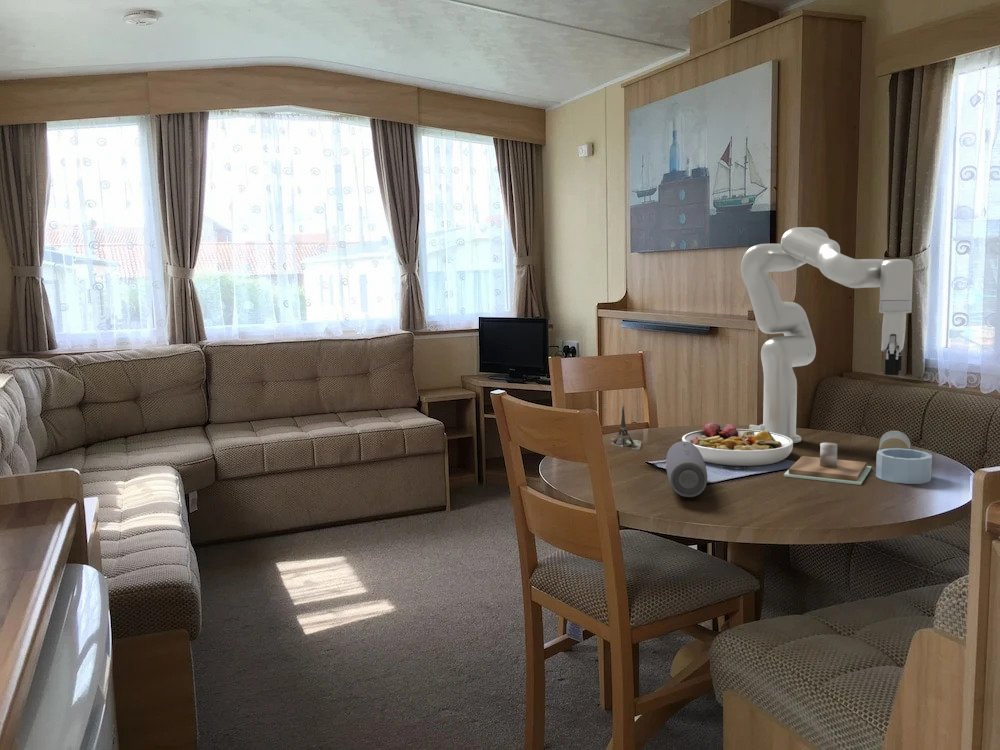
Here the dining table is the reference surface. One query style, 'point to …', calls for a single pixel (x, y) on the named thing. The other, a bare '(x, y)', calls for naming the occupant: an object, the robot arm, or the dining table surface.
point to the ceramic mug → (894, 440)
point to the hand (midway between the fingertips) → (893, 372)
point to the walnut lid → (828, 465)
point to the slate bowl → (903, 466)
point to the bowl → (739, 445)
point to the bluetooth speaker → (686, 469)
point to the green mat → (831, 478)
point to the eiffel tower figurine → (625, 436)
